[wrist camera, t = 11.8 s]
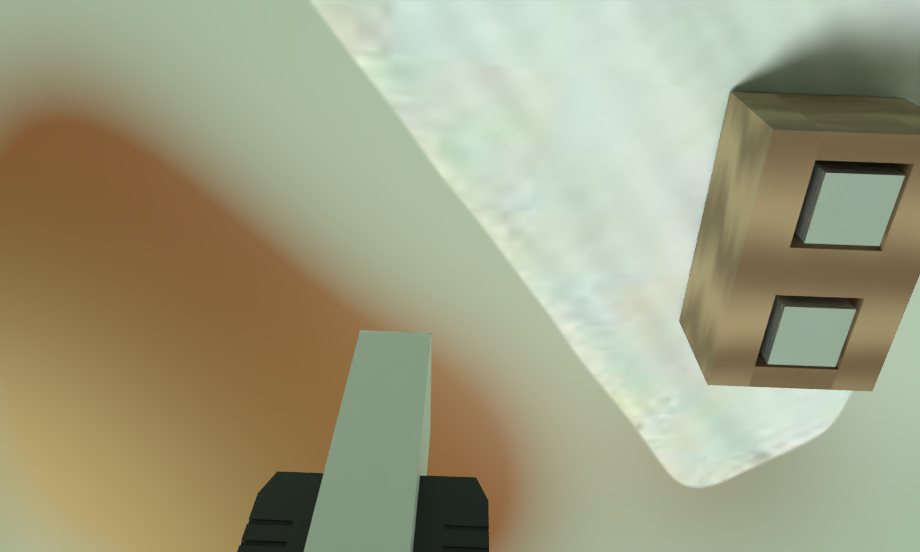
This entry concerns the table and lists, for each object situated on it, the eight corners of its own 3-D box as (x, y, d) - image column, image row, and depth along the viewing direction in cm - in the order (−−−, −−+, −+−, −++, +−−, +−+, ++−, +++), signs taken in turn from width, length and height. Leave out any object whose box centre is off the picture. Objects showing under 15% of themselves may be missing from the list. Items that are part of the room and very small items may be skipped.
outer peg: (748, 254, 45) (785, 306, 40) (811, 257, 45) (856, 309, 40) (734, 307, 47) (767, 364, 42) (794, 310, 47) (835, 366, 42)
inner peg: (780, 133, 41) (825, 172, 36) (849, 135, 41) (905, 175, 36) (763, 196, 43) (804, 243, 38) (829, 199, 43) (879, 245, 38)
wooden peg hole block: (729, 91, 41) (773, 129, 35) (902, 98, 41) (975, 137, 35) (679, 321, 49) (707, 384, 43) (823, 326, 49) (872, 391, 43)
